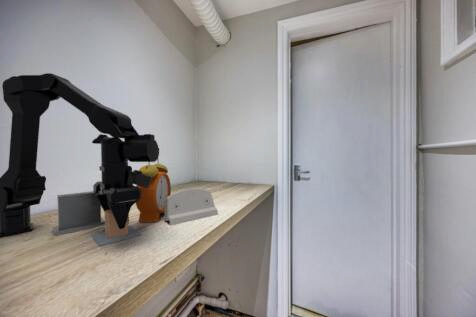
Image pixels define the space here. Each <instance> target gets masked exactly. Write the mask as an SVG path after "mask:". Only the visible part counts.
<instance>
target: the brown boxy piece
mask: <svg viewBox="0 0 476 317" xmlns="http://www.w3.org/2000/svg"><path fill="white" fill-rule="evenodd" d="M104 220H105V225H104V231H105V235H106V236H107V237H108V238H109V239H111V238H114V237H118V236H122V235H125V234H128V225H129V223H128V222H126V225H125V228H123V229H119V227H118V225H117V223H116V221H115V219H114V217H113V214H112V212H111V210H105V212H104Z"/></svg>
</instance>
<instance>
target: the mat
mask: <svg viewBox="0 0 476 317" xmlns="http://www.w3.org/2000/svg"><path fill="white" fill-rule="evenodd" d="M141 235H143V234H142V232H140V231H139V230H137V229H136V228H135V227H133V226H132V225H131V224H128V234H125V235H122V236H118V237H114V238H111V239H109V238H108V237H107V236H106V235H105V230H103V231H98V232H95V233H91V235H90V236H91V237H92V238H93V240H94V241H95V242H96V244H97V245H98V246H99V247H103V246H106V245H110V244H113V243H118V242H120V241H124V240H127V239H131V238H134V237H138V236H141Z"/></svg>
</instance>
